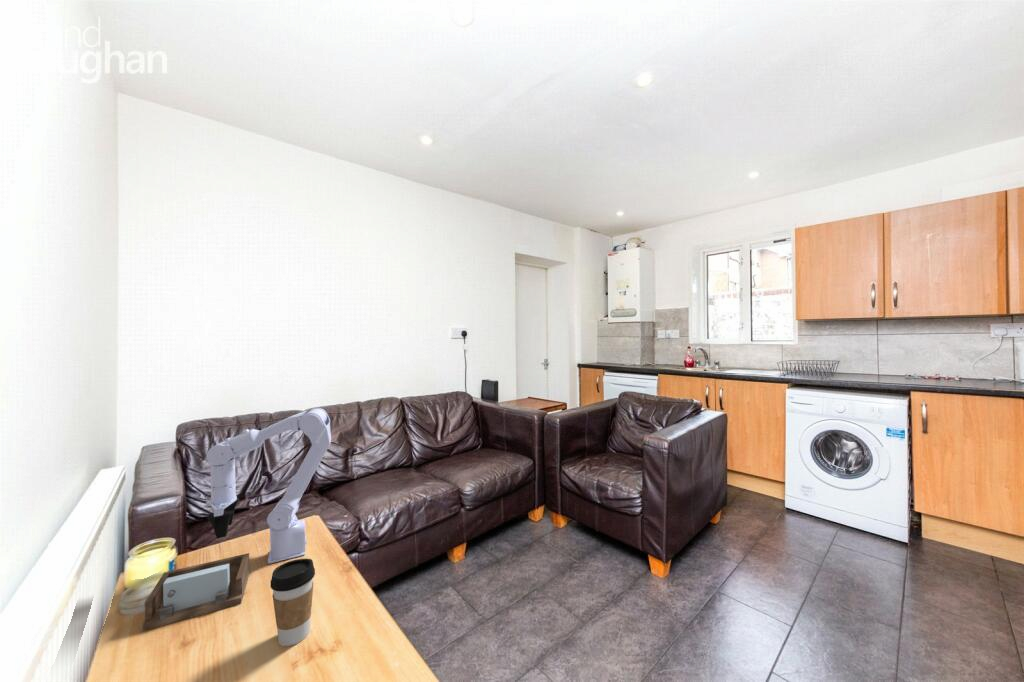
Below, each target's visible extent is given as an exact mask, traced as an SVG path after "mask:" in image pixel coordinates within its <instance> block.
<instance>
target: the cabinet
mask: <svg viewBox="0 0 1024 682" xmlns="http://www.w3.org/2000/svg"><path fill="white" fill-rule="evenodd" d="M225 564H229V571H230V593H229V596H228V597H227V590H226V591H223V592H219V593H216V596H215V601H211V602H208V603H204V604H200V605H196V606H193V607H189V608H185V609H182V610H178V611H173V605H169V606H165V607H164V600H163V583H164V582H165V580H166V579H167V578H170V577H174V576H179V575H183V574H187V573H191V572H196V571H200V570H204V569H208V568H212V567H217V566H221V565H225ZM250 570H251V569H250V553H249V552H248V553H244V554H239V555H234V556H230V557H225V558H222V559H217V560H211V561H209V562H208V561H207V562H204V563H200V564H195V565H192V566H186V567H182V568H178V569H174V570H173V569H172V570H169V571H165V572H163V573H162V574H161V577H160V578H159V579H158V582H156V584H155V586H154V587H153V589H152V590H151V592H150V593H149V595H148V596H147V598H146V600H145V601H144V621H143V623H142V632H144V631H147V630H150V629H155V628H158V627H162V626H165V625H169V624H173V623H176V622H180V621H184V620H188V619H191V618H193V617H198V616H202V615H205V614H209V613H212V612H213V613H214V612H216V611H220V610H222V609H227V608H230V607H233V606H236V605H240V604H242V601H243V598H244V595H245V591H246V588H247V584H248V581H249V577H250V574H251V573H250Z"/></svg>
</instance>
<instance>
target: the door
mask: <svg viewBox="0 0 1024 682" xmlns="http://www.w3.org/2000/svg"><path fill="white" fill-rule="evenodd" d="M226 590H227V597H228V596H229V593H230V571H229V564H225V565H221V566H217V567H212V568H208V569H204V570H200V571H196V572H191V573H187V574H183V575H179V576H174V577H170V578H167V579H166V580H165V582H164V583H163V600H164V607H165V606H169V605H173V611H178V610H182V609H185V608H189V607H193V606H196V605H200V604H204V603H208V602H211V601H215V596H216V593H219V592H223V591H226Z"/></svg>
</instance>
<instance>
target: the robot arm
mask: <svg viewBox="0 0 1024 682" xmlns="http://www.w3.org/2000/svg"><path fill="white" fill-rule="evenodd" d="M288 431H294V432H300V431H301V432H302V433H304V435H305V436H306V437H307V438H308V439H309V442H310V443H311V446H310V447H309V450H308V452H307V454H306V455H305V457H304V459H303V461H302V462H301V464H300V467H299V468H298V470H297V472H296V473H295V475H294V477H293V479H292V481H291V482H290V484H289V486H288V488H287V489H286V492H285V493H284V495H283V497H282V498H281V499H279V500H278V502H277V503H276V505H275V507H274V508H273V509H272V511H271V512H269V514H268V516H267V518H266V523H267V525H268V527H269V545H270V546H269V549H270V550H269V554H268V559H267V564H269V565H270V564H273V563H277V562H281V561H286V560H290V559H293V558H298V557H301V556H304V555H306V545H307V537H306V519H301V520H300V519H298V517H297V515H296V513H298V510H299V508H300V500H301V498H302V496H303V495H304V493H305V491H306V489H307V487H308V486H309V484H310V481H311V480H312V478H313V476H314V474H315V473H316V471H317V469H318V467H319V465H320V463H321V462H322V459H323V458H324V456H325V454H326V453H327V450H328V449H329V448H330V445H331V443H332V434H331V418H330V417H329V414H328V413H327V411H326V410H325V409H323V408H321V407H313V408H311V409H310V410H309V411H308V410H305V411H302V412H299V413H296V414H294V415H290V416H289V417H286V418H285V419H284V418H283V419H282V420H280V421H278V422H275V423H274V424H271V425H269V426H267V427H264V428H263V429H261V430H258V429H255V428H252V429H248V428H247V429H245V430H242V432H241V433H240V434H238V435H236V436H233V437H227V438H225V439H224V441H221V442H219V443H217V444H216V445H213V446H212V447H211V448H210V449H208V451H207V452H206V459H205V460H206V461H207V463H209V464H210V470H209V471H210V500H207V501H206V502H205V507H207V506H210V507H211V508H212V510H213V512H212V513H208V514H207V516H206V519H207V521H208V522H210V524H211V525H212V529H213V531H214V535H215V538H216V539H222V538H225V537H227V534H228V529H229V526H232V524H233V520H234V514H235V510H236V506H237V503H239V500H240V499H239V497H238V496H237V494H236V493H237V491H236V489H237V486H236V485H237V484H236V482H237V481H236V458H238V457H240V456H241V457H242V456H243V455H245V454H247V453H250V452H252V451H254V450H256V449H258V448H261V447H262V446H263V443H264V442H265V441H266V440H268V439H270V438H271V439H272V438H273V437H275V436H278V435H280V434H283V433H285V432H288Z"/></svg>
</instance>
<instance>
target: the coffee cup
mask: <svg viewBox="0 0 1024 682" xmlns="http://www.w3.org/2000/svg"><path fill="white" fill-rule="evenodd" d="M315 575H316V569H315V567H314V561H313V559H312V558H298V559H297V558H296V559H294V560H293V559H292V560H290V561H286V562H284V563H282V564H280V565H278V566H277V567H276V568H274V569H273V571H272V573H271V579H270V589H271V590H272V602H273V609H274V616H275V624H276V632H277V638H278V639H277V640H278V644H279V645H280V646H282V647H290V646H291V647H292V646H294V645H296V644H299V643H301V642H302V641H304V639H306V638H307V637H308V635H309V634H310V631H311V616H312V605H313V604H312V603H313V593H314V592H313V591H314V577H315Z"/></svg>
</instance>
